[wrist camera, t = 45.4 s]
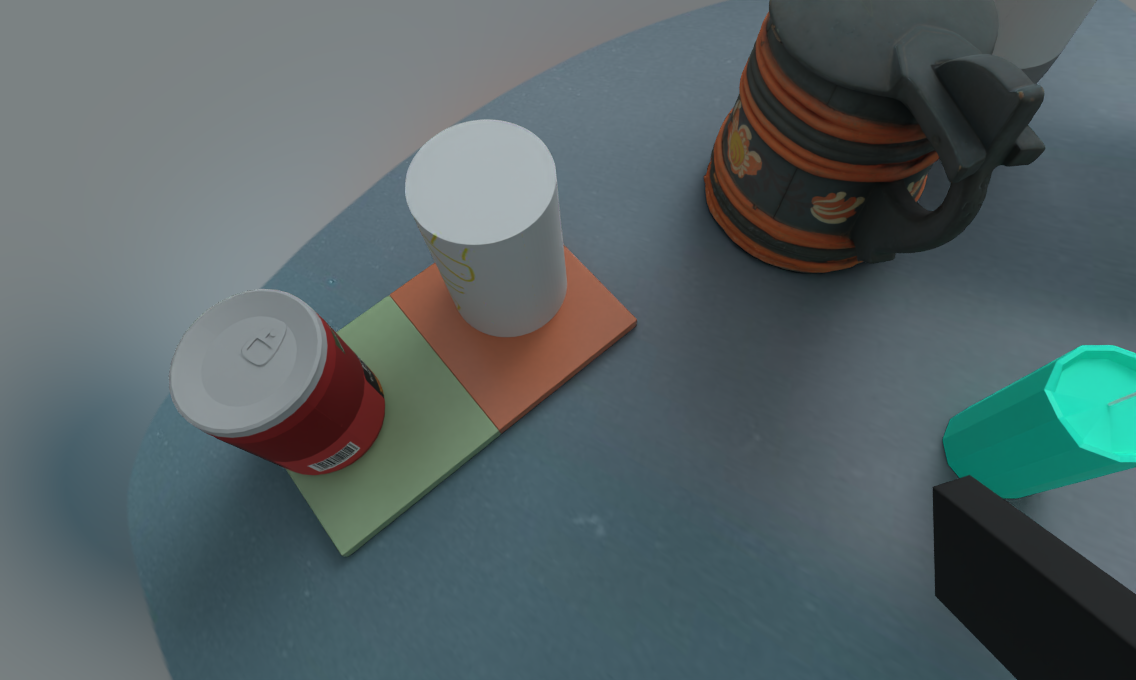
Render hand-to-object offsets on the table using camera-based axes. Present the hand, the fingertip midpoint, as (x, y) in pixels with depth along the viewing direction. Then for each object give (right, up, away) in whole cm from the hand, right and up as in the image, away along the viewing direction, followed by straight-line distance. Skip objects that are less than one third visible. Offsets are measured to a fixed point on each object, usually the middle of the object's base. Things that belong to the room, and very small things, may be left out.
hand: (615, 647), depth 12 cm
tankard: (+18, +15, +36) cm, 42 cm away
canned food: (-16, 0, +30) cm, 34 cm away
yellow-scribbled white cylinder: (-5, +10, +33) cm, 35 cm away
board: (-9, +4, +32) cm, 34 cm away
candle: (+26, -1, +28) cm, 38 cm away
